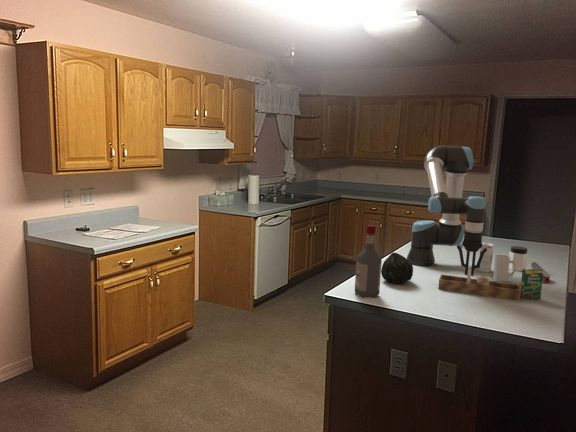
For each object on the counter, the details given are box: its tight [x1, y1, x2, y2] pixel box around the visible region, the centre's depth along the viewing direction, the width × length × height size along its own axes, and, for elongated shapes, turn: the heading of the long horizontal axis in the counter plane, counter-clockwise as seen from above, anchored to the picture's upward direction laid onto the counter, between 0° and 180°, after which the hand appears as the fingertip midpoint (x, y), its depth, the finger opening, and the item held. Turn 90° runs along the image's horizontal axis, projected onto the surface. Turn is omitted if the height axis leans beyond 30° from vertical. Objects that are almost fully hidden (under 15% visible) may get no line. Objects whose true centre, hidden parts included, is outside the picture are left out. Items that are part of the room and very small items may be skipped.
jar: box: [508, 245, 529, 272], centre depth 259 cm, size 9×8×12 cm
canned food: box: [530, 261, 551, 284], centre depth 240 cm, size 11×10×10 cm
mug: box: [493, 254, 517, 282], centre depth 236 cm, size 10×7×12 cm, turn 55°
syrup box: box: [477, 242, 495, 273], centre depth 253 cm, size 6×6×14 cm
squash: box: [381, 252, 414, 285], centre depth 227 cm, size 14×15×15 cm
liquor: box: [354, 224, 382, 298], centre depth 204 cm, size 9×9×30 cm
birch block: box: [476, 275, 490, 286], centre depth 215 cm, size 5×5×4 cm
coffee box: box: [520, 268, 543, 301], centre depth 208 cm, size 8×3×13 cm, turn 90°
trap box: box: [437, 273, 521, 302], centre depth 216 cm, size 34×10×4 cm, turn 67°
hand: (468, 282), depth 218 cm, fingers closed
